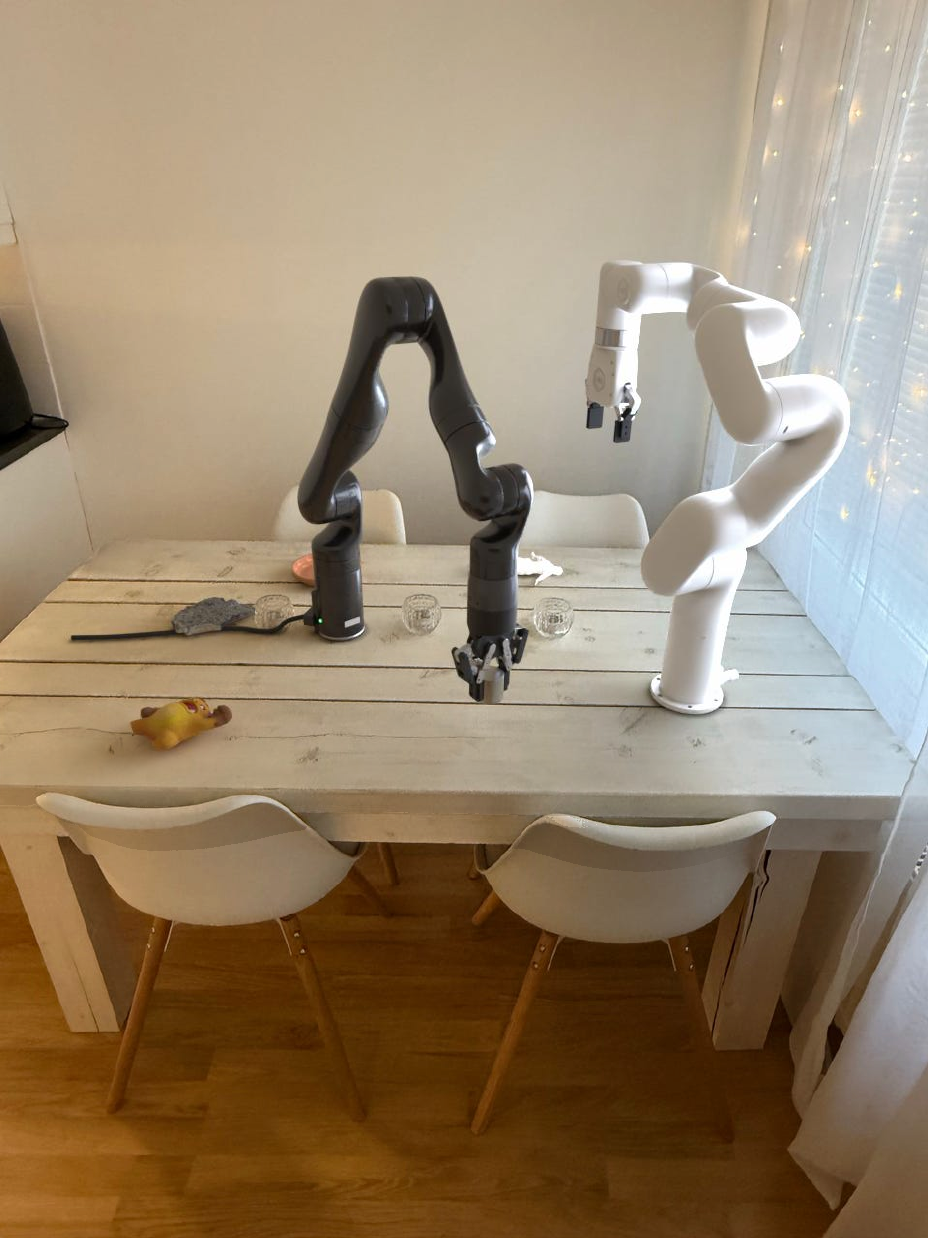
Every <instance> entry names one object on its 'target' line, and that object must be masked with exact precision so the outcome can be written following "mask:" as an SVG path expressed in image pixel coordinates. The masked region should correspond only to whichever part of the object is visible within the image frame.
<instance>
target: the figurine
mask: <svg viewBox="0 0 928 1238" xmlns="http://www.w3.org/2000/svg"><path fill="white" fill-rule="evenodd" d="M532 559H534V560H535V561H532ZM562 573H563V568H562V567H561V566H555V565H553V564H552V563H551V562H550V561H549V560H548V559H546V558H545V557H543V556H541V555H535V553H534V551H531V553H530V558H528V557H527V558H526V557H525V558H522V557H519V556H518V569H517V575H518V576H519V575H522V576H523V575H527V576H529V575H532V574H540V575H539V577H537V578H536V579H535V582H534V586H536V585H537V584H538V582H539V581H543V580H545V579H546V578H547V577H549V576H552V575H555V576H560V575H561V574H562Z"/></svg>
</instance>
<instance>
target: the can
mask: <svg viewBox="0 0 928 1238" xmlns="http://www.w3.org/2000/svg"><path fill="white" fill-rule="evenodd" d="M477 671H478V668H476V673H477ZM504 692H505V691H504V671H503V670H502V669H501V668H499V667H497V666H496V665H491V664H490V665H489V668H488V670H486V671H485V674H484V677H483V700H482V701H481V702H479V703H480V704H484V705H496V704H498V703H500V702H502V701H503V699H504Z"/></svg>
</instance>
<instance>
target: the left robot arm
mask: <svg viewBox="0 0 928 1238" xmlns="http://www.w3.org/2000/svg"><path fill="white" fill-rule="evenodd" d="M416 343H417V344H418V345H419V347H420V348H421V350H422V351H423V352H424V355H425V356H426V358H427V360H428V363H429V369H430V377H429V386H428V387H429V388H428V397H427V398H428V399H427V403H428V405H427V406H428V412H429V416H430V420H431V422H432V424H433V427H434V428H435V431H436V433H437V435H438V437H439V439H440V441H441V443H442V445H443V447H444V449H445V450H446V452H447V455H448V458H449V462H450V467H451V468H450V469H451V471H452V476H453V482H454V486H455V493H456V498H457V502H458V504H459V506H460V508H461V510H462V511H463V513H464V514H465V515H466V516H467V517H469V518H470V519H471V520H473V521H475V522H488V521H489V522H488V523H487V524H486V525H484V526H483V527H481V528H479V529H478V530H477V531H475V532H474V533H473V534H472V535H471V537H470V541H469V558H468V559H469V563H468V565H469V566H468V567H469V568H468V577H467V585H466V587H467V588H466V626H467V628H468V636H467V638H466V643H465V644H463V645H462V646H461V647H457V646H454V647H452V648H451V650H450V651H451V656H452V659H453V663H454V666H455V670H456V673H457V677H458V678H460V679H461V680H463V681H464V682H465V683H467V684H468V696H469V697H470V698H471V699H472V700H474V701H475V702H476V703H480V702H481V701H482V700H483V677H484V674H485V671H486V670H488V668H489V665H491V661H492V660H493V659H495V661H496V664H497V666H496V667H499V668H501V669H502V670H503V671H504V692H505V691H508V690H509V685H510V679H511V670H513V666H514V665H515V664H516V665H519V664H520V663H521V662H522V659H523V655H524V651H525V648H526V644H527V640H528V636H529V634H530V630H529V629H528V628H526V627H525V626H524V625H522V624H519V623H518V605H519V604H518V601H519V575H518V574H517V569H518V557H519V546H520V543H521V540H522V538H523V535H524V532H525V529H526V525H527V523H528V519H529V516H530V513H531V509H532V506H533V500H534V485H533V480H532V478H531V476H530V474H529V472H528V470H527V469H526V468H525V467H524V466H523V465H521V464H519V463H516V462H507V463H503V464H498V465H493V466H489V467H485V468H484V467H483V466H482V464H481V462H480V461H481V460H483V459H485V458H486V457H487V456H489V455H490V454H491V453H492V452H493V451H494V449H495V446H496V436H495V434H494V431H493V429H492V427H491V425H490V423H489V421H488V420H487V418H486V415H485V414H484V411H483V410H482V408H481V406H480V404H479V402H478V401H477V398H476V396H475V394H474V392H473V390H472V388H471V386H470V383H469V380H468V378H467V376H466V373H465V370H464V367H463V364H462V360H461V358H460V355H459V352H458V348H457V345H456V341H455V338H454V335H453V332H452V330H451V327H450V324H449V320H448V318H447V314H446V312H445V309H444V306H443V303H442V300H441V298H440V295H438V292H437V291H436V289H435V287H434V286H433V284H432V283H431V282H430V281H429V279H426V278H424V277H421V276H415V275H414V276H411V275H410V276H379V277H375V278H372V279H370V280H369V281H368V282H367V283H366V284H365V285H364V287H363V289H362V291H361V293H360V295H359V299H358V301H357V306H356V310H355V315H354V320H353V324H352V330H351V334H350V339H349V344H348V349H347V352H346V353H347V354H346V356H345V359H344V363H343V367H342V370H341V373H340V377H339V380H338V383H337V386H336V388H335V391H334V394H333V396H332V399H331V402H330V404H329V408H328V410H327V415H326V419H325V422H324V425H323V429H322V430H321V434H320V436H319V439H318V442H317V445H316V447H315V449H314V452H313V454H312V456H311V458H310V461H309V462H308V465H307V467H306V468H305V470H304V473H303V475H302V477H301V479H300V482H299V484H298V488H297V497H296V498H297V507H298V511H299V513H300V515H301V517H302V519H304V521H306V522H307V523H309V524H310V525H316V526H317V525H319V526H320V525H326V524H327V525H326V526H325V527H324V528H323V529H322V530H321V531H319V532H318V533H317V534H315V536H314V537H313V538H312V540H311V544H310V545H311V547H310V548H311V553H312V559H313V570H314V582H315V587H314V588H313V589H312V590H311V591H310V597H311V606H310V608H308V610H307V611H305V612H304V613H302V614H297V615H293V616H291V617H288V618H285V619H284V620H283V621H281V622H280V623H279V624H278V625H277V626H275V627H271V628H258V627H251V626H245V625H227V626H224V627H223V628H222V629H221V630H218V631H207V632H206V633H215V632H245V633H246V632H247V633H253V634H262V635H263V634H264V635H267V634H269V635H270V634H274V633H278V632H280V631H282V630H283V628H284V627H286V625H288V624H291V623H294V622H297V621H302V622H303V626H306V627H311V628H313V629H314V634H315V635H318V636H320V637H321V638H323V639H325V640H328V641H331V642H332V641H333V642H345V641H346V642H347V641H351V640H355V639H358V638H359V637H360V636H362V635H363V634H364V633H365V631H366V623H365V613H364V612H365V610H364V594H363V593H364V592H363V575H362V574H363V573H362V565H361V564H362V560H361V543H362V542H363V541H362V540H363V493H362V489H361V488H362V487H361V485H360V482H359V479H358V477H357V475H356V474H355V473H354V472H353V471H352V470H350V469H351V468H352V467H353V466H354V465H356V464H357V463H358V462H359V461H361V460H362V458H363V457H364V456H366V454H367V453H368V452H369V451H370V450H371V449H372V448H373V447H374V446H375V444H376V442H377V441H378V439H379V437H380V435H381V432H382V430H383V427H384V426H385V423H386V420H387V417H388V414H389V410H390V401H389V397H388V392H387V390H386V386H385V384H384V382H383V379H382V377H381V373H380V368H381V363H382V361H383V358H384V355H385V353H386V351H387V350H388V348H389V347H390V346H391V345H392V346H393V345H406V344H416ZM174 635H184V634H183V633H177V632H175V629H165V630H155V631H142V632H130V633H129V632H127V633H112V634H111V633H110V634H72V635H70V640H71V641H102V640H103V641H104V640H105V641H107V640H126V639H138V638H140V639H141V638H151V637H162V636H174ZM515 650H516V651H515ZM477 669H478V671H477V673H476V670H477Z"/></svg>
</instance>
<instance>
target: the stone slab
mask: <svg viewBox="0 0 928 1238" xmlns="http://www.w3.org/2000/svg"><path fill="white" fill-rule="evenodd" d="M255 610H256V607H255V606H253V605H252V604H246V603H243V604H241V603H239V601H237V600H236V599H232V598H231V599H228V600H226V599H225V598H224V597H217V596H212V597H208V598H203V600H200V601H198V602H196V603H195V604H193V605H186V606H185V607H184V608H183V609H180V610H179V611H178V612H177V613H176V614H174V615H173V617H172V619H171V621H170V623H171V626H173V629H174V630H175V632H177V633H183V634H182V635H184V636H186V637H187V636H194V635H197V634H201V633H208V632H207V631H216V632H219V631H218V630H221V629H222V628H223V627H224V626H230V624H232V623H233V622H236V621H239V620H245V619H246V618H248V617H252V616H255V615H256V614H255Z"/></svg>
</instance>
